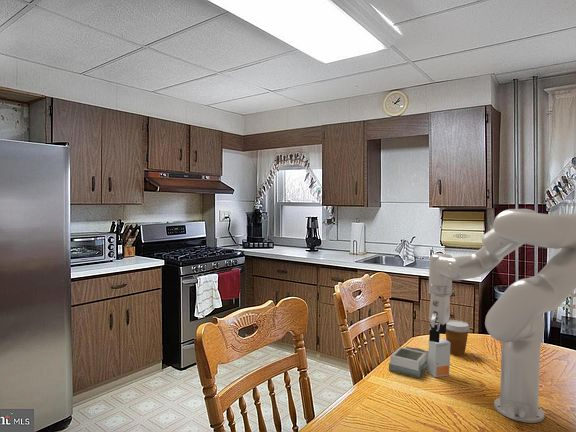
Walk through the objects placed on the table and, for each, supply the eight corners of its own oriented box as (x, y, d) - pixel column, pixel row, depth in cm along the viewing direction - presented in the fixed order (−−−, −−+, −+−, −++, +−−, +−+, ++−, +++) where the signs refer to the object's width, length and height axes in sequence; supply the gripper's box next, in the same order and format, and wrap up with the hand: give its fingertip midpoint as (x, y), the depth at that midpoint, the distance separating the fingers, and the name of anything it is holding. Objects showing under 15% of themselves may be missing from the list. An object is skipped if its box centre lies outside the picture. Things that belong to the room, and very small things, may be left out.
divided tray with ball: (419, 378, 135) (420, 362, 134) (388, 370, 141) (389, 355, 140) (434, 358, 151) (435, 344, 151) (406, 352, 157) (406, 339, 157)
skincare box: (435, 378, 135) (435, 343, 134) (427, 372, 139) (428, 339, 139) (450, 376, 137) (450, 342, 136) (442, 370, 141) (442, 337, 140)
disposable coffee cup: (438, 350, 159) (438, 321, 159) (455, 347, 163) (455, 318, 163) (457, 359, 151) (457, 328, 150) (474, 355, 155) (475, 325, 154)
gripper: (445, 296, 127) (443, 347, 129) (456, 286, 142) (454, 332, 143) (422, 292, 132) (419, 342, 133) (435, 283, 146) (433, 328, 147)
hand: (437, 337), depth 138 cm, fingers open, 9 cm apart
